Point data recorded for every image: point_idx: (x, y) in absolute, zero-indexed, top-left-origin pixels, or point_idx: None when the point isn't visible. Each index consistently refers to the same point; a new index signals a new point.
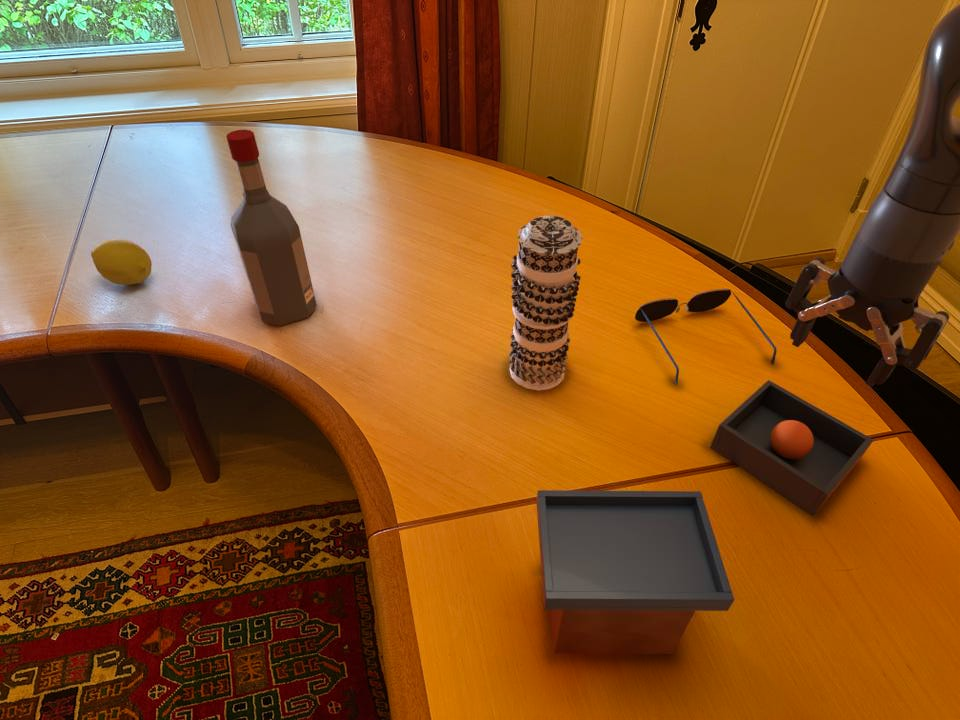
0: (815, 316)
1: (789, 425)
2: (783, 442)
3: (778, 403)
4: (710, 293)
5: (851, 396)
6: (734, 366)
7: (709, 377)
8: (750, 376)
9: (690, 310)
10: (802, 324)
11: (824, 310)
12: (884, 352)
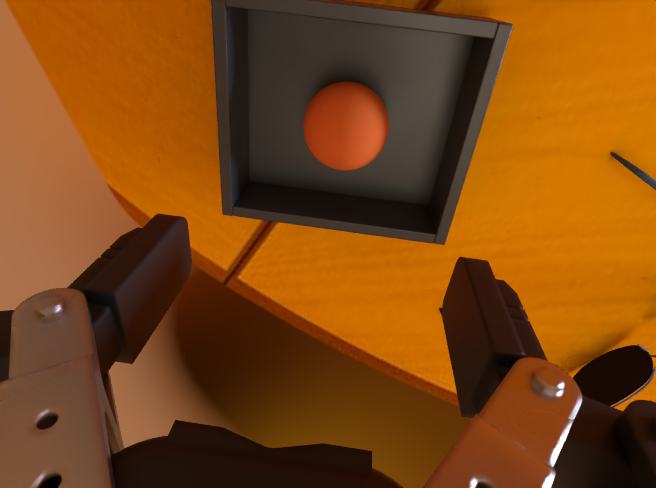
0: (494, 406)
1: (361, 134)
2: (354, 91)
3: (403, 213)
4: (616, 396)
5: (310, 309)
6: (502, 269)
7: (543, 216)
8: None
9: (626, 349)
10: (514, 342)
11: (484, 475)
12: (78, 332)
